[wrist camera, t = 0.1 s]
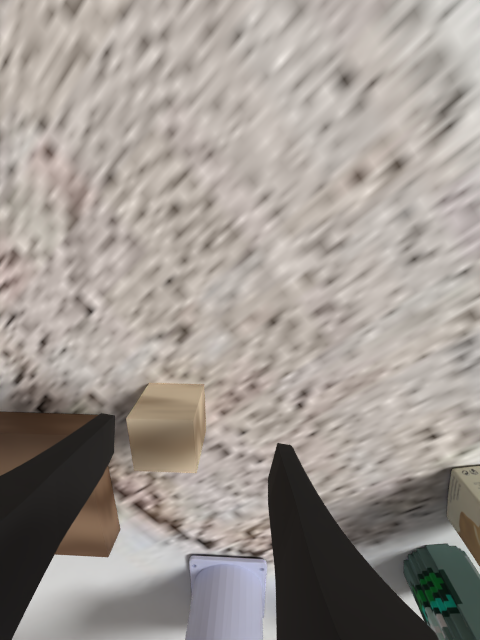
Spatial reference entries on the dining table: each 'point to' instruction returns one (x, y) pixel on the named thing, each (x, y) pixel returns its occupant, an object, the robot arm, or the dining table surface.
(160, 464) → the maple block
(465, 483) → the skincare box
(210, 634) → the robot arm
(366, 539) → the dining table surface
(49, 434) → the walnut base
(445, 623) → the can
